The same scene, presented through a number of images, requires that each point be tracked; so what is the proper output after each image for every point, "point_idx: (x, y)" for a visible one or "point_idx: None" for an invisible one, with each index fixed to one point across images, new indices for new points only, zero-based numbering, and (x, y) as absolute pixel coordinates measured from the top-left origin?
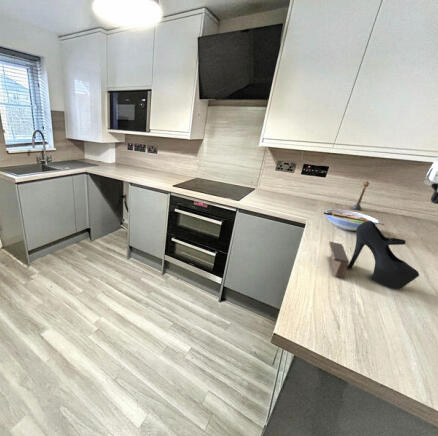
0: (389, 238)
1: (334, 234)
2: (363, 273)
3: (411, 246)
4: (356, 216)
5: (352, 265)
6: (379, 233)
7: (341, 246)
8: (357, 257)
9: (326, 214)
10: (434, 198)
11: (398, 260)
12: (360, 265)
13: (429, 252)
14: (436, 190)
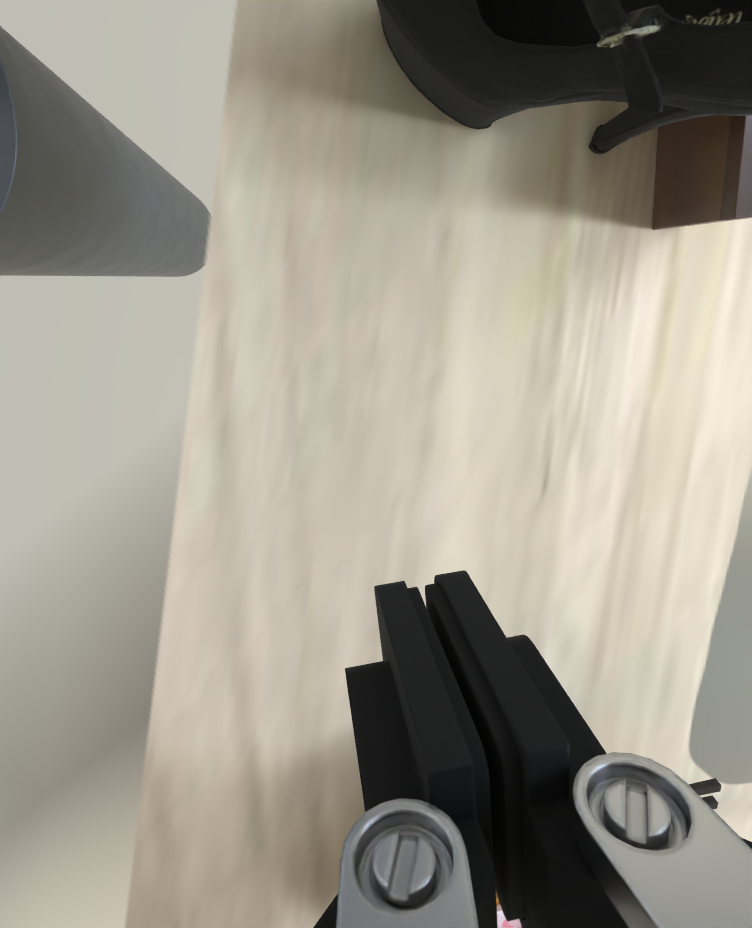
0: (654, 23)
1: (592, 647)
2: (537, 118)
3: (233, 782)
4: (505, 922)
5: (610, 121)
6: (750, 30)
7: (748, 157)
8: (632, 124)
9: (702, 782)
10: (527, 654)
11: (480, 23)
12: (532, 243)
13: (161, 762)
14: (679, 814)
